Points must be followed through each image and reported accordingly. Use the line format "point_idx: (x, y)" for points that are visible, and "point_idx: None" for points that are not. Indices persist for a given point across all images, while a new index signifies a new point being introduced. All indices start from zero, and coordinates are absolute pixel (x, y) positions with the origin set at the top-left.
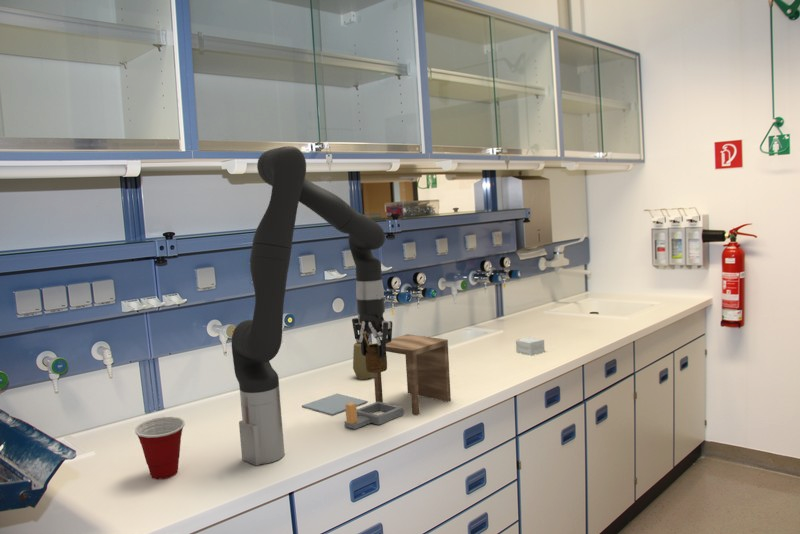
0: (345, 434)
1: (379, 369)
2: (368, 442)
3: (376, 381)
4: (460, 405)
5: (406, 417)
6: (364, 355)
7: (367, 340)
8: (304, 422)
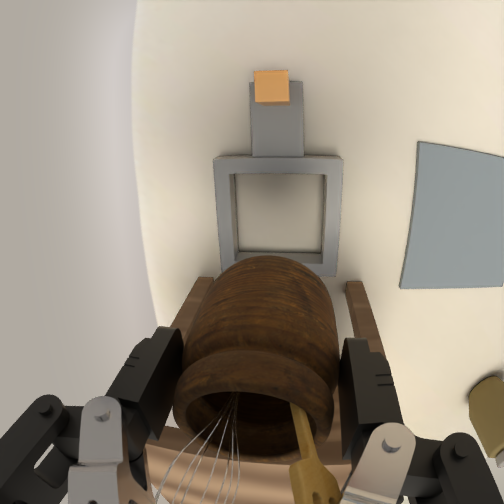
0: (249, 46)
1: (210, 288)
2: (147, 57)
3: (366, 330)
4: None
5: (208, 253)
6: (345, 340)
7: (355, 465)
8: (440, 59)
